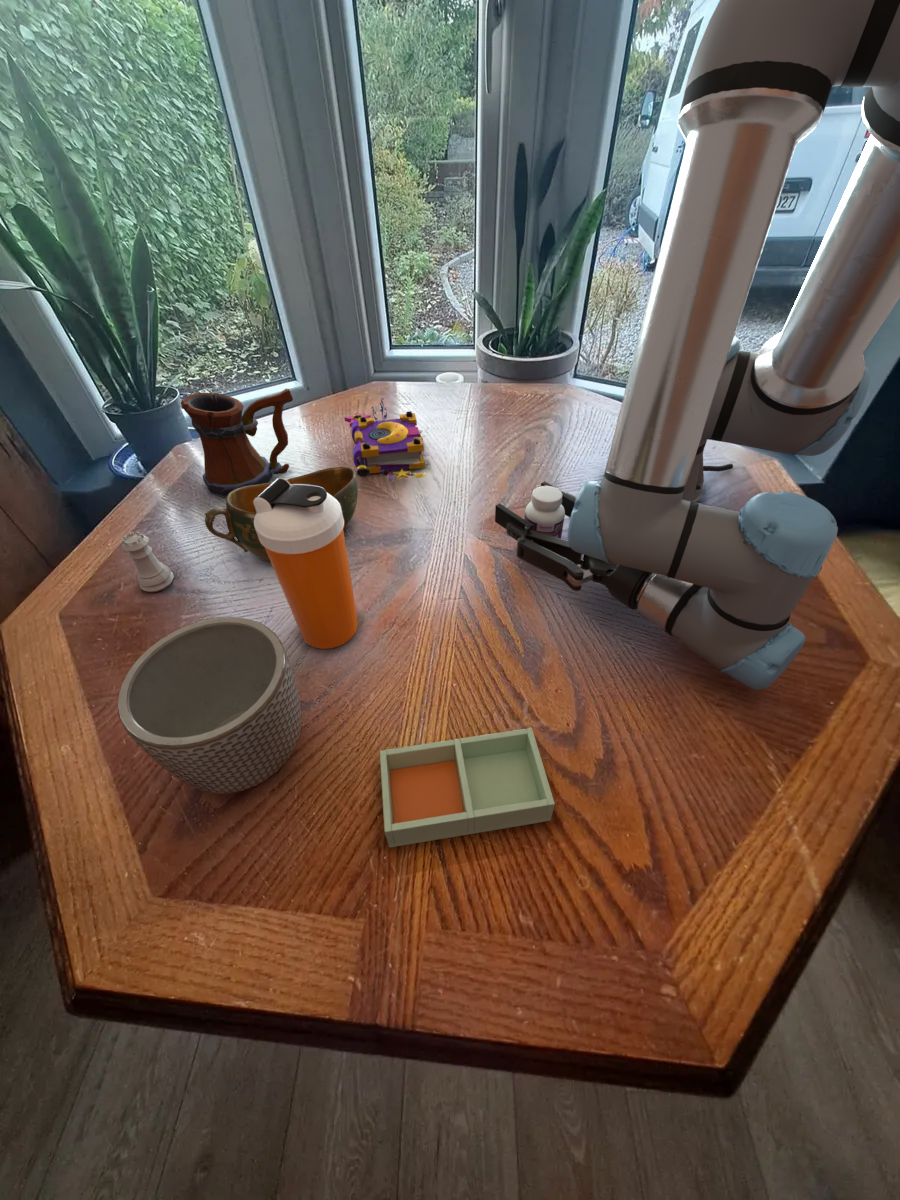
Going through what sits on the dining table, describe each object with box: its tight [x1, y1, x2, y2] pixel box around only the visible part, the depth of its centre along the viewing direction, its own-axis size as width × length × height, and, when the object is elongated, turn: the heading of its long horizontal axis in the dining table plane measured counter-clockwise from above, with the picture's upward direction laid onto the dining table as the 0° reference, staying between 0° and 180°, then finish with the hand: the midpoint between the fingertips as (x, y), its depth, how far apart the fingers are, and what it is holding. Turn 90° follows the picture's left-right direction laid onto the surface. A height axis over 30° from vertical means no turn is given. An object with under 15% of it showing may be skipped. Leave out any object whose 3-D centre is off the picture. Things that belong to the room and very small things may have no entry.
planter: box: [116, 616, 303, 795], centre depth 49 cm, size 14×14×13 cm
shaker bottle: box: [253, 477, 359, 650], centre depth 58 cm, size 9×9×20 cm
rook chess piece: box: [121, 531, 175, 593], centre depth 70 cm, size 4×4×8 cm
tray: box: [379, 727, 556, 849], centre depth 48 cm, size 15×8×4 cm, turn 99°
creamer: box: [204, 466, 359, 564], centre depth 75 cm, size 13×20×10 cm, turn 99°
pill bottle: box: [523, 485, 566, 542], centre depth 72 cm, size 5×5×10 cm
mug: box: [179, 388, 294, 498], centre depth 87 cm, size 18×12×15 cm, turn 107°
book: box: [343, 397, 427, 482], centre depth 92 cm, size 15×25×12 cm, turn 10°
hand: (520, 501), depth 74 cm, fingers open, 8 cm apart
